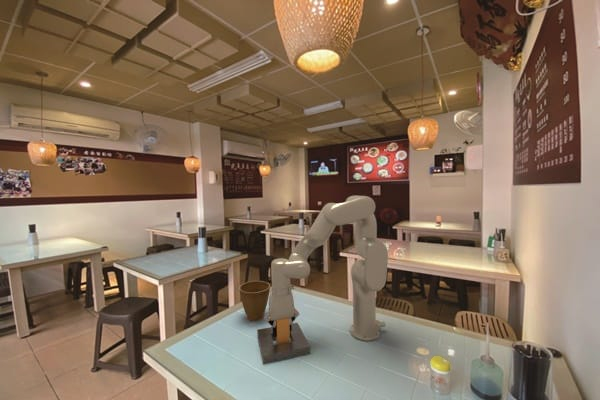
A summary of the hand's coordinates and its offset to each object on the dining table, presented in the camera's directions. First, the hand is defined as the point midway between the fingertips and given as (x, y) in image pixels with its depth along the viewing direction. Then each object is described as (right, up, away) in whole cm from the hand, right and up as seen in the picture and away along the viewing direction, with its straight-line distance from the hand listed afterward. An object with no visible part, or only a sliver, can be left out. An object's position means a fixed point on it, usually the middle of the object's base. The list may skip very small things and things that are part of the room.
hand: (282, 333), depth 101 cm
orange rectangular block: (0, -3, 0) cm, 3 cm away
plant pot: (-15, -4, +22) cm, 27 cm away
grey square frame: (0, -5, 0) cm, 5 cm away
